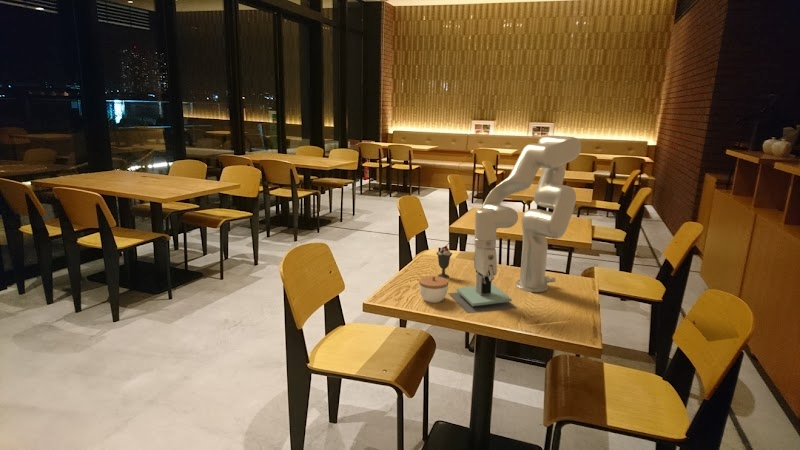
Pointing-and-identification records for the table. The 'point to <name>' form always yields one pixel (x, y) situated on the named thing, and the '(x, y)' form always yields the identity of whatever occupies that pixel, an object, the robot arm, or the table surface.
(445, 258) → the sundae
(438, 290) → the lidded jar
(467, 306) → the mat
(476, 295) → the lid
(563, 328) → the table surface
